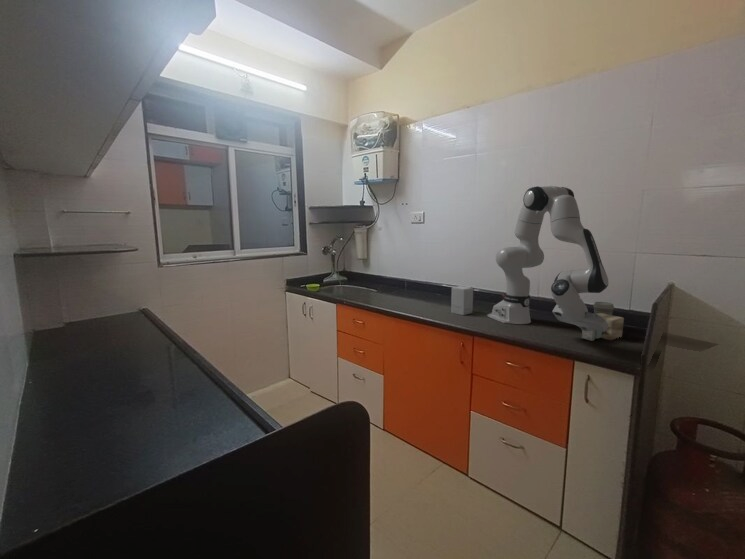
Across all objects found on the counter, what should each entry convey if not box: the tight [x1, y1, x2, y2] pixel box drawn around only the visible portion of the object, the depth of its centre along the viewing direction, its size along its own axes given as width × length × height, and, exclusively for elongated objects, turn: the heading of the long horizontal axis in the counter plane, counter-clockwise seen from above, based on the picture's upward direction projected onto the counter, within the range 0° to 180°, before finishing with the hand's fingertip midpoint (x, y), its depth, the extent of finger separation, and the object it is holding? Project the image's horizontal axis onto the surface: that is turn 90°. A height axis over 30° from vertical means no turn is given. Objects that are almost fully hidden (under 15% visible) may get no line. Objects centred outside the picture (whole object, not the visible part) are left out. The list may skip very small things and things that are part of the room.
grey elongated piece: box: [581, 329, 604, 342], centre depth 152 cm, size 4×18×8 cm, turn 118°
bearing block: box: [597, 313, 625, 341], centre depth 154 cm, size 10×9×9 cm
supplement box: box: [450, 285, 474, 316], centre depth 196 cm, size 9×9×15 cm
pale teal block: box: [595, 330, 602, 340], centre depth 150 cm, size 5×4×5 cm, turn 28°
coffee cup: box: [592, 301, 615, 315], centre depth 166 cm, size 8×8×12 cm
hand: (586, 329), depth 147 cm, fingers closed, pressing on grey elongated piece
